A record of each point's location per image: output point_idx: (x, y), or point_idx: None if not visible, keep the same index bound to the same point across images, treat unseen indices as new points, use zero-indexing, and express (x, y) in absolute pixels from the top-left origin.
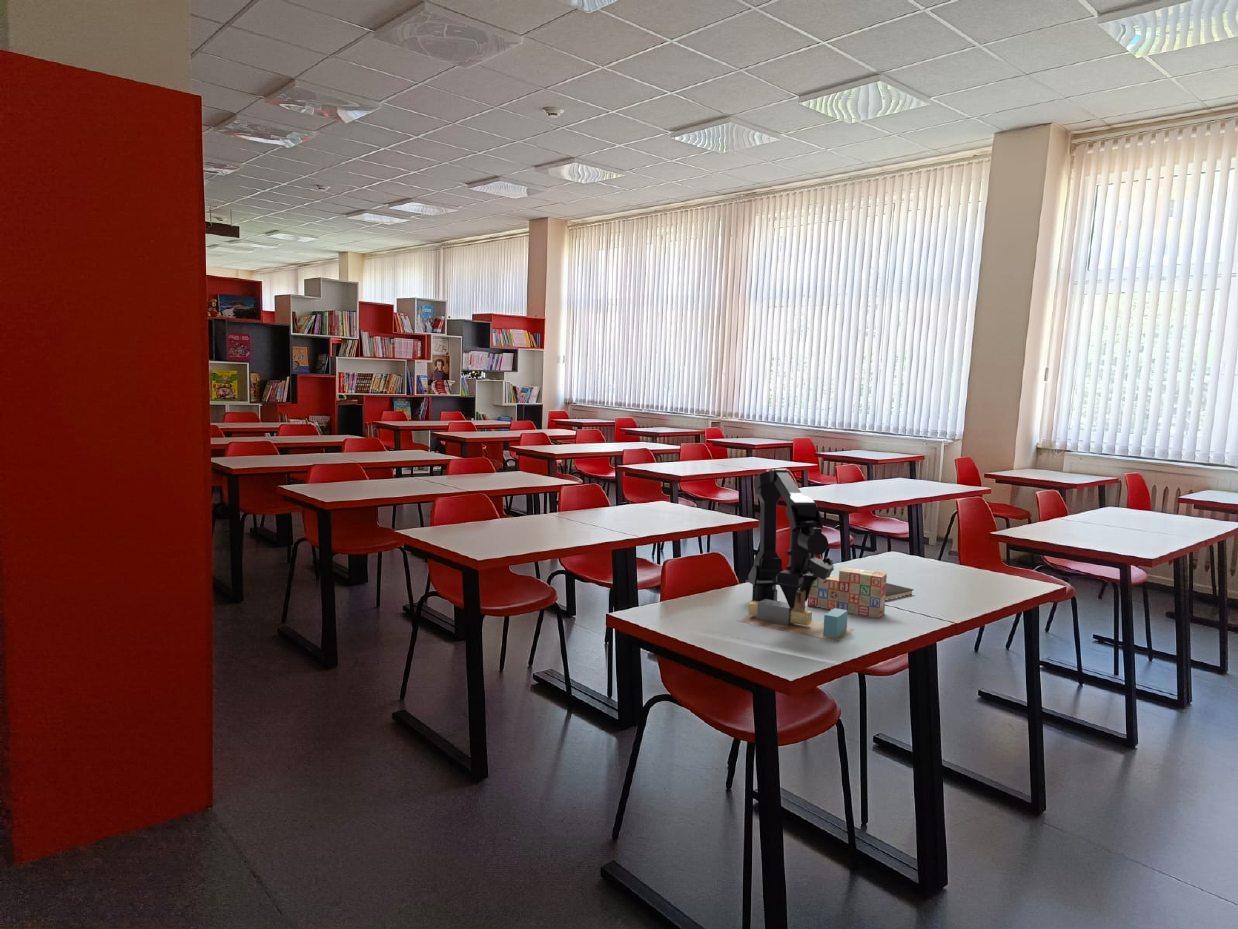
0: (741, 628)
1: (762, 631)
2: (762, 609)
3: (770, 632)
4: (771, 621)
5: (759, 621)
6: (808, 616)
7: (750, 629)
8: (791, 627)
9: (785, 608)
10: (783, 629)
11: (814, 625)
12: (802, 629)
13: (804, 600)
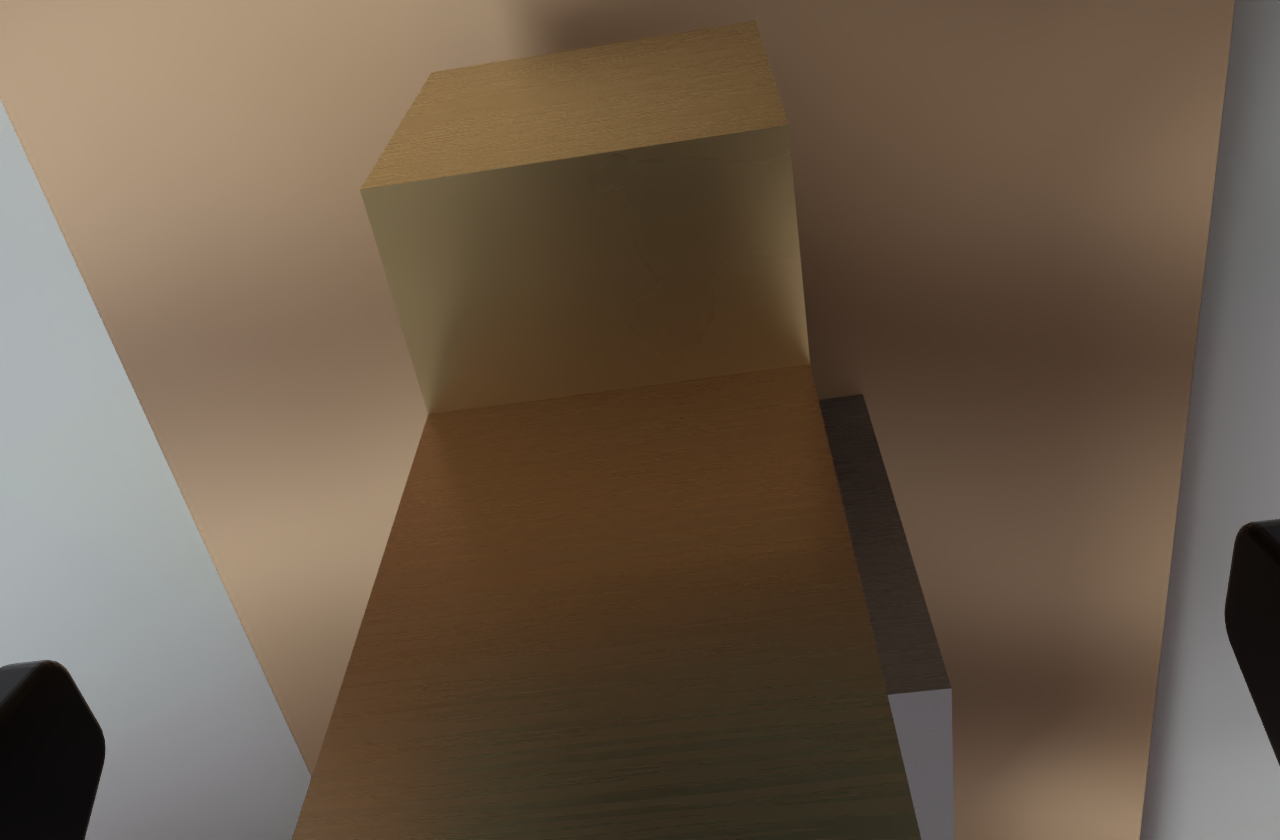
0: (1249, 828)
1: (1220, 594)
2: None
3: (1198, 490)
4: None
5: None
6: (687, 104)
7: (1222, 742)
8: (889, 313)
9: (942, 742)
10: (1143, 353)
11: (318, 25)
12: (857, 65)
13: (440, 634)
